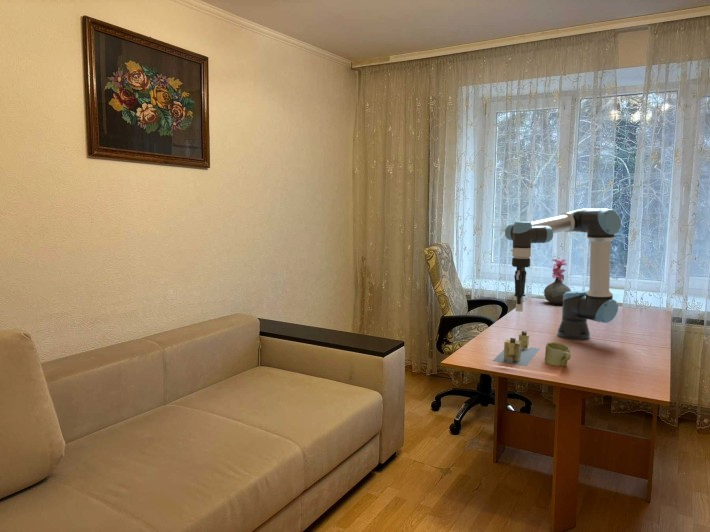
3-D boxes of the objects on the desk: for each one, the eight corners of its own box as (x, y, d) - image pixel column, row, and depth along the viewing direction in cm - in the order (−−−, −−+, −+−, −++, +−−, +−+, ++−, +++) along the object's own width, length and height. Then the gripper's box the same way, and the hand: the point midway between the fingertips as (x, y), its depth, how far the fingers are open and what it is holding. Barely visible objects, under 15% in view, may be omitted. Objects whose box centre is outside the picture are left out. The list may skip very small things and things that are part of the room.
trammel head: (520, 359, 224) (521, 338, 222) (518, 361, 220) (519, 340, 219) (506, 356, 226) (507, 336, 225) (503, 359, 223) (504, 338, 221)
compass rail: (528, 347, 243) (529, 331, 242) (514, 364, 218) (514, 346, 217) (519, 346, 245) (520, 330, 244) (504, 362, 220) (505, 345, 219)
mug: (536, 356, 225) (546, 336, 222) (557, 362, 226) (567, 343, 223) (546, 370, 213) (557, 349, 210) (569, 377, 215) (580, 356, 212)
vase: (546, 305, 344) (548, 260, 340) (541, 301, 361) (543, 257, 357) (573, 306, 341) (575, 261, 337) (567, 301, 358) (569, 258, 354)
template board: (540, 349, 242) (540, 347, 242) (526, 367, 215) (526, 365, 215) (509, 345, 249) (509, 343, 248) (492, 362, 222) (492, 360, 222)
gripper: (515, 255, 234) (513, 307, 237) (508, 258, 222) (506, 313, 225) (533, 256, 230) (530, 309, 233) (527, 259, 219) (524, 314, 222)
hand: (519, 311), depth 229 cm, fingers closed
